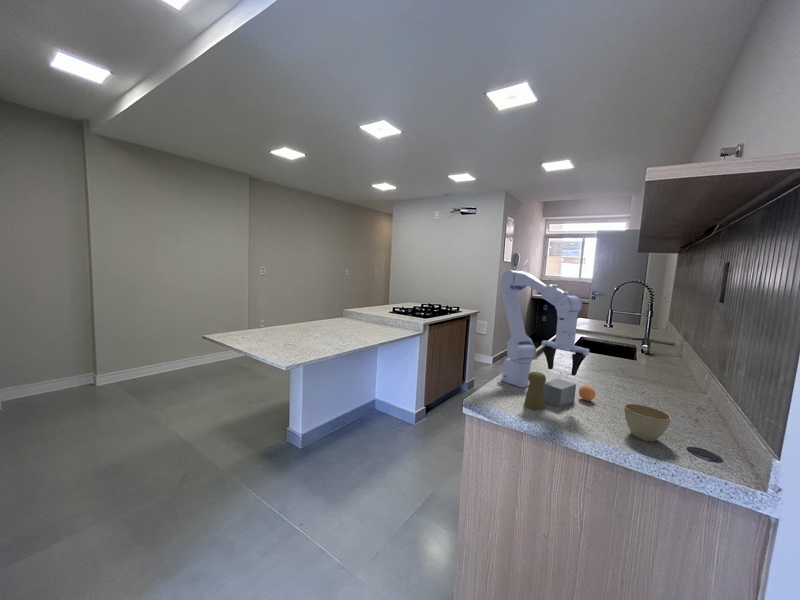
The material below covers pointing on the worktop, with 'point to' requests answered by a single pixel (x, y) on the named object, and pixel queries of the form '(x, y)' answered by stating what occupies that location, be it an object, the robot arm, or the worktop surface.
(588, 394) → the ball
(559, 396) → the grey rectangular block
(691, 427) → the worktop surface
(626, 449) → the worktop surface
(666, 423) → the pale yellow bowl
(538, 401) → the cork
